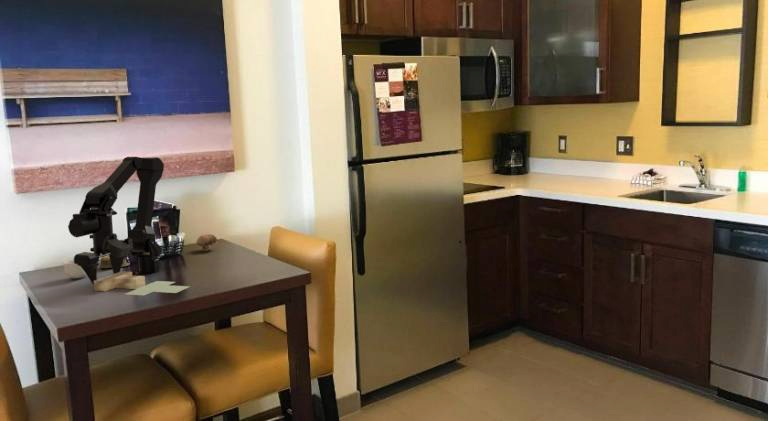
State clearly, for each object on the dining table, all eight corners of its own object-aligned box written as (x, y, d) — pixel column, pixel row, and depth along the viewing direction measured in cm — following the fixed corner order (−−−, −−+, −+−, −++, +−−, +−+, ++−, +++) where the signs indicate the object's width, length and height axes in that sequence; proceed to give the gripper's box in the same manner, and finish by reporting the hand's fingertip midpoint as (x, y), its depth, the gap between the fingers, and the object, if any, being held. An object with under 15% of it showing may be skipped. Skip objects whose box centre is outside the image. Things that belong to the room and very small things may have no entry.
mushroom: (193, 252, 237) (192, 236, 236) (202, 248, 245) (201, 232, 244) (213, 252, 236) (211, 236, 235) (221, 248, 243) (220, 232, 242)
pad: (123, 294, 181) (123, 294, 181) (156, 281, 195) (156, 280, 195) (167, 297, 177) (167, 296, 177) (197, 283, 191) (197, 283, 191)
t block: (94, 290, 186) (93, 280, 186) (122, 280, 197) (121, 271, 197) (127, 292, 183) (126, 282, 182) (154, 282, 194) (153, 272, 193)
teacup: (65, 281, 200) (63, 264, 199) (64, 276, 207) (62, 260, 206) (98, 276, 205) (97, 260, 204) (97, 271, 211) (95, 256, 211)
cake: (101, 271, 212) (100, 256, 212) (97, 266, 221) (95, 251, 220) (132, 266, 218) (130, 252, 217) (126, 262, 226) (125, 247, 225)
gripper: (101, 239, 178) (104, 291, 181) (145, 227, 196) (147, 275, 198) (70, 236, 181) (74, 287, 184) (116, 225, 199) (118, 272, 202)
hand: (105, 280), depth 192 cm, fingers open, 9 cm apart
